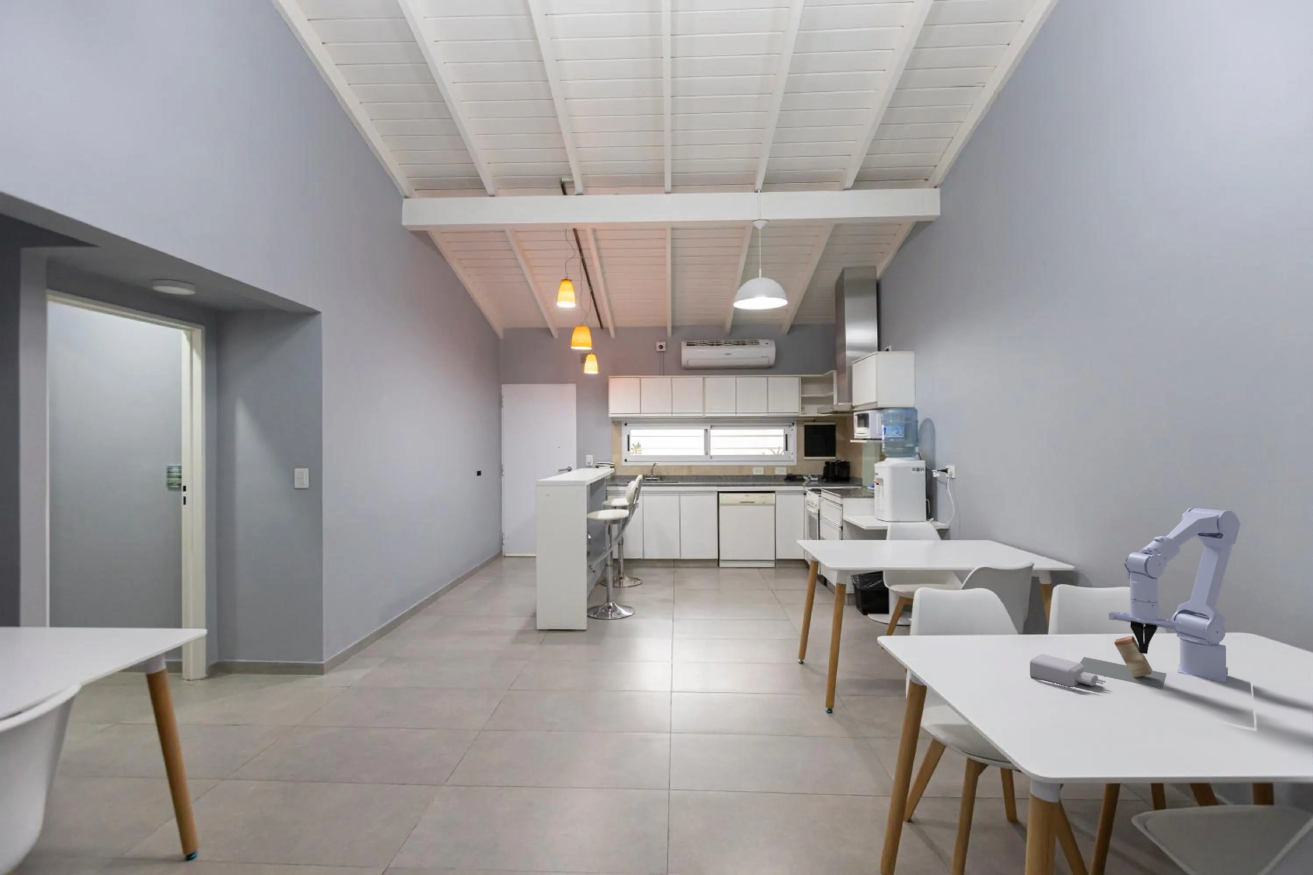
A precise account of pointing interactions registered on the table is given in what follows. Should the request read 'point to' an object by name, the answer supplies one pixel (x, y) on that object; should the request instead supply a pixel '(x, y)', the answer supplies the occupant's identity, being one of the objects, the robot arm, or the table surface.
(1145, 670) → the maple block
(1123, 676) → the rubber mat
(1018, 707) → the table surface
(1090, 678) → the charger
